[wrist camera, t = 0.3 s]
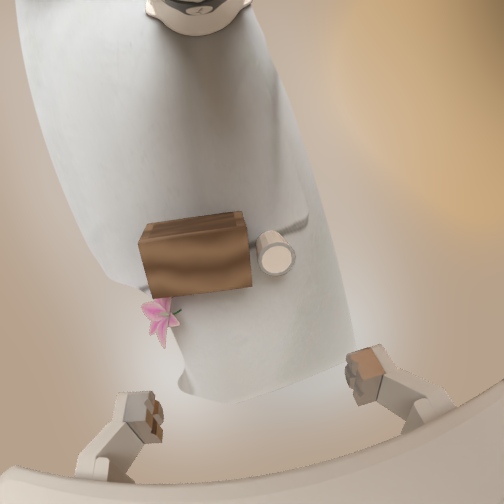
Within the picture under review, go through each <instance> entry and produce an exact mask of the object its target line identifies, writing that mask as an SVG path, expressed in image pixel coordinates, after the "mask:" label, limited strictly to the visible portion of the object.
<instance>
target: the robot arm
mask: <svg viewBox="0 0 504 504" xmlns="http://www.w3.org/2000/svg"><path fill="white" fill-rule="evenodd" d="M252 1H253V0H147V1H146V6H145V11H146V13H147V14H148V15H150V16H152V17H155V18H158V19H160V20H161V21H162V22H163V23H164V24H165V25H166V26H167V27H169V28H170V29H171V30H173V31H175V32H177V33H180V34H184V35H190V36H201V35H207V34H211V33H214V32H216V31H219V30H221V29H222V28H224V27H225V26H227V25H228V24H229V23H230V22H231V21H232V20H233V19H234V18H235V16H236V15H237V14H238V12H239V11H240V10H241V9H242V8H244V7H246V6H247V5H249V4H250V3H251V2H252ZM151 4H152V5H151ZM346 361H347V363H348V364H347V366H346V367H345V375H346V380H347V383H348V385H349V387H350V388H352V389H354V391H353V396H354V398H355V400H356V402H357V405H358V406H361V405H364V404H367V403H371V402H374V401H377V402H378V403H380V404H381V405H382V406H384V407H386V408H387V409H388V410H390V411H392V412H393V413H395V414H396V415H398V416H399V417H401V418H402V419H404V420H405V421H406V423H405V425H404V427H403V429H402V431H401V435H399V436H397V437H394V438H392V439H389V440H387V441H384V442H382V443H379V444H377V445H374V446H371V447H368V448H365V449H363V450H360V451H357V452H354V453H351V454H348V455H344V456H341V457H338V458H334V459H331V460H328V461H324V462H320V463H317V464H313V465H309V466H305V467H300V468H296V469H292V470H287V471H283V472H277V473H272V474H266V475H261V476H255V477H248V478H241V479H234V480H225V481H215V482H202V483H185V484H135V482H134V480H132V479H131V478H130V477H129V476H128V475H126V474H125V473H126V472H127V470H128V469H129V467H130V466H131V464H132V463H133V461H134V460H135V458H136V457H137V455H138V454H139V452H140V451H141V449H142V447H143V446H144V444H149V443H162V436H163V430H162V428H161V427H160V425H161V424H162V423H163V419H164V415H163V409H162V407H161V404H160V403H159V402H158V401H156V400H155V395H154V393H153V392H152V391H142V392H141V391H140V392H120V393H118V395H117V398H116V403H115V407H114V412H113V417H112V422H109V423H108V424H107V425H106V426H105V427H104V428H103V429H102V430H101V431H100V432H99V433H98V435H97V436H96V437H95V438H94V439H93V440H92V441H91V442H90V443H89V444H88V445H87V446H86V447H85V449H84V450H83V451H82V452H81V453H80V454H79V456H78V461H77V465H76V471H75V476H74V478H73V477H66V476H61V475H55V474H50V473H45V472H41V471H37V470H32V469H28V468H24V467H21V466H12V467H10V468H9V469H8V470H6V471H5V472H4V473H3V474H2V475H1V476H0V504H504V379H502V380H501V381H499V382H498V383H496V384H495V385H493V386H492V387H490V388H489V389H487V390H486V391H484V392H482V393H481V394H479V395H478V396H476V397H474V398H473V399H471V400H469V401H467V402H466V403H464V404H462V405H460V406H459V407H457V408H456V406H455V405H454V403H453V402H452V400H451V399H450V397H449V396H448V394H447V393H446V392H445V390H444V388H442V387H440V386H438V385H436V384H433V383H431V382H429V381H427V380H425V379H422V378H420V377H418V376H416V375H414V374H412V373H410V372H407V371H405V370H403V369H397V368H396V366H395V364H394V363H393V361H392V360H391V358H390V357H389V356H388V354H387V352H386V351H385V349H384V348H383V346H382V345H381V344H378V345H375V346H372V347H369V348H365V349H362V350H358V351H355V352H352V353H349V354H347V356H346Z"/></svg>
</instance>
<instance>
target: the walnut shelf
mask: <svg viewBox="0 0 504 504" xmlns="http://www.w3.org/2000/svg"><path fill="white" fill-rule="evenodd" d="M138 246H139V250H140V254H141V258H142V262H143V266H144V269H145V273H146V277H147V280H148V284H149V287H150V291H151V294H152V298H153V299H159V298H167V297H176V296H184V295H192V294H200V293H208V292H216V291H224V290H231V289H239V288H246V287H252V277H251V266H250V255H249V245H248V234H247V227H246V224H245V221H244V218H243V215H242V212H241V211H237V212H229V213H221V214H214V215H206V216H199V217H191V218H184V219H177V220H170V221H164V222H157V223H150V224H147V226H146V228H145V230H144V232H143V234H142V236H141V238H140V240H139V242H138Z"/></svg>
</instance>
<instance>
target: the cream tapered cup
mask: <svg viewBox="0 0 504 504" xmlns="http://www.w3.org/2000/svg"><path fill="white" fill-rule="evenodd" d="M256 250H257V258H258V264H259V267H260V269H261V270H262V271H263V272H264V273H265V274H267V275H270V276H280V275H283V274H285V273H287V272H288V271H289V270H290V269H291V268H292V266H293V265H294V263H295V258H296V257H295V252H294V250H293V249H292V248H291V246H290V245H289V244H288V243H287V242H286V240H285V239H284V238H283V237H282V236H281V235H280V233H278V232H276V231H266V232H264V233H262V234H261V235H260V236H259V237H258V239H257V241H256Z"/></svg>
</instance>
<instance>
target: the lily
mask: <svg viewBox="0 0 504 504" xmlns="http://www.w3.org/2000/svg"><path fill="white" fill-rule="evenodd" d="M171 300H172V297H167V298H159V299H154V302H148V303H144V304H142V305H141V308H142V311H143V312H144V314H145V315H146V317H147V318H148V319H149V320H151V324H150V330H149V334H150V336H151V335H152V334H154V333H156V332H157V337H158V339H159V341H160V343H161V345H162V347H163V348H164V349H165V347H166V333H167V327H175V326H179V325H180V323H179V321H178V320H177V319H176V317H175V316H174V315H175V314H177V313H178V312H180V311H181V309H180V310H179V311H177V312H176V313H173V314H172V313H171V312H170V305H171Z"/></svg>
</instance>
